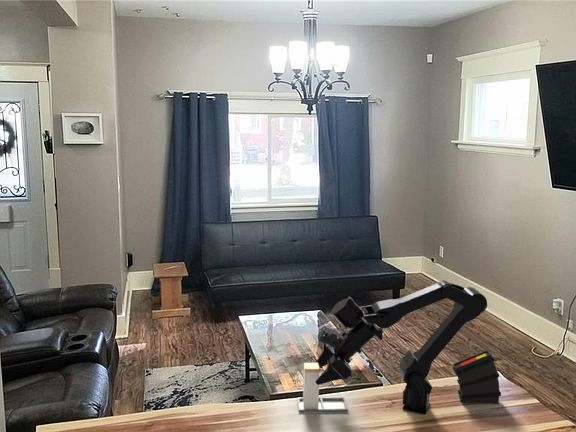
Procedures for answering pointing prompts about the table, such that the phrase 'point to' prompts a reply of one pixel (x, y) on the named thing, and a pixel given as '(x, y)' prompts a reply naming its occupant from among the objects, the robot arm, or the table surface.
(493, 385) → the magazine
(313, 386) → the block
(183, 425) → the table surface
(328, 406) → the organiser
